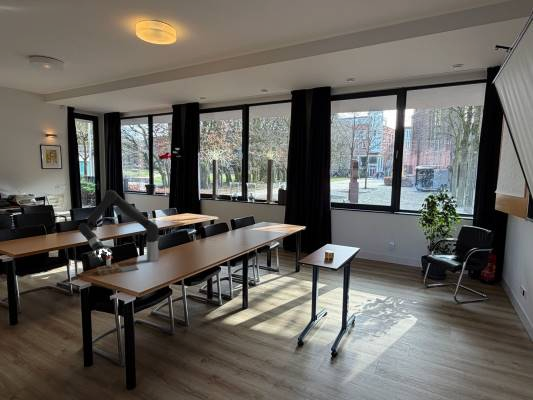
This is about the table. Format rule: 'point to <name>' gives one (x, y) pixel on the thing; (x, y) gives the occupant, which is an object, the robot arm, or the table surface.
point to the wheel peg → (108, 261)
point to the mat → (128, 268)
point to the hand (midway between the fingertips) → (107, 260)
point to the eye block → (108, 270)
